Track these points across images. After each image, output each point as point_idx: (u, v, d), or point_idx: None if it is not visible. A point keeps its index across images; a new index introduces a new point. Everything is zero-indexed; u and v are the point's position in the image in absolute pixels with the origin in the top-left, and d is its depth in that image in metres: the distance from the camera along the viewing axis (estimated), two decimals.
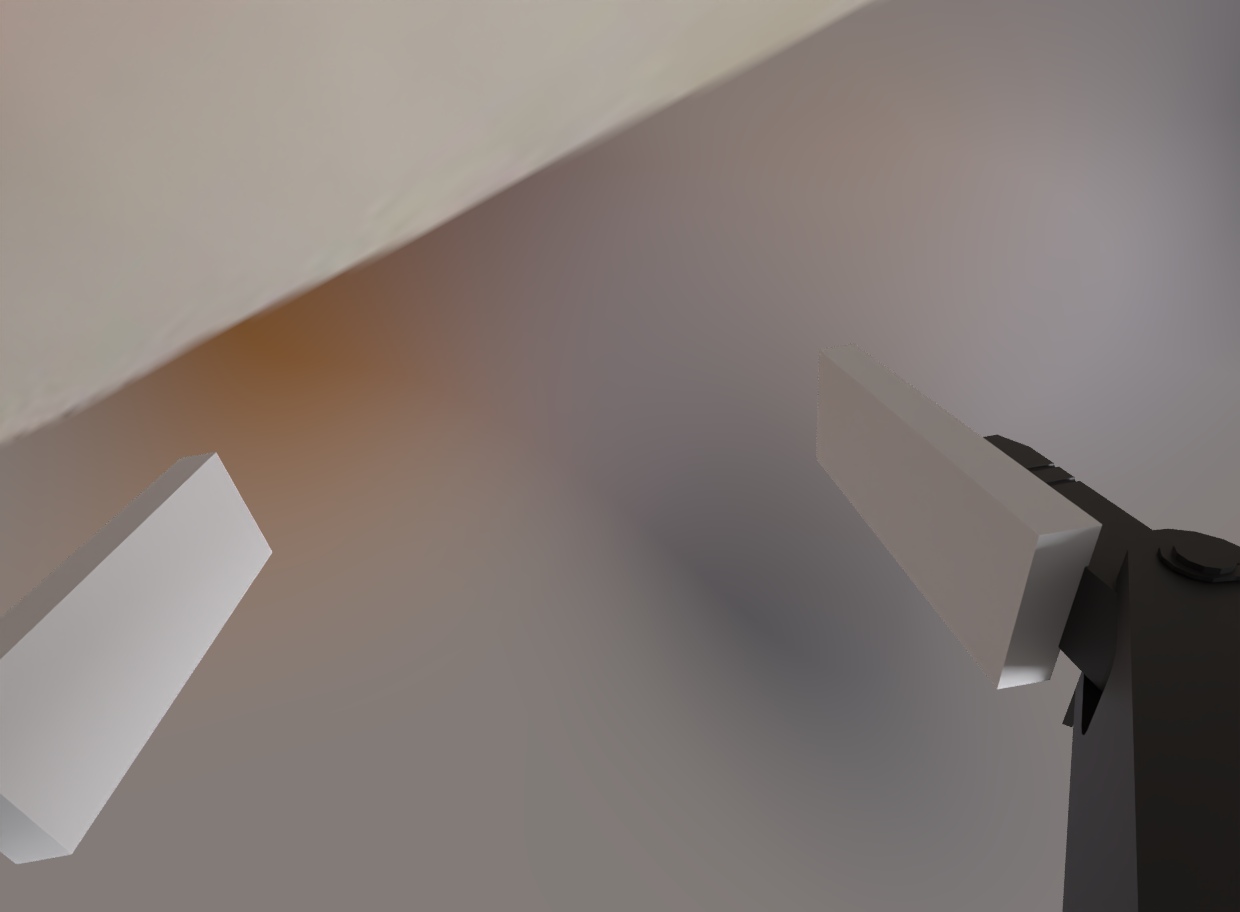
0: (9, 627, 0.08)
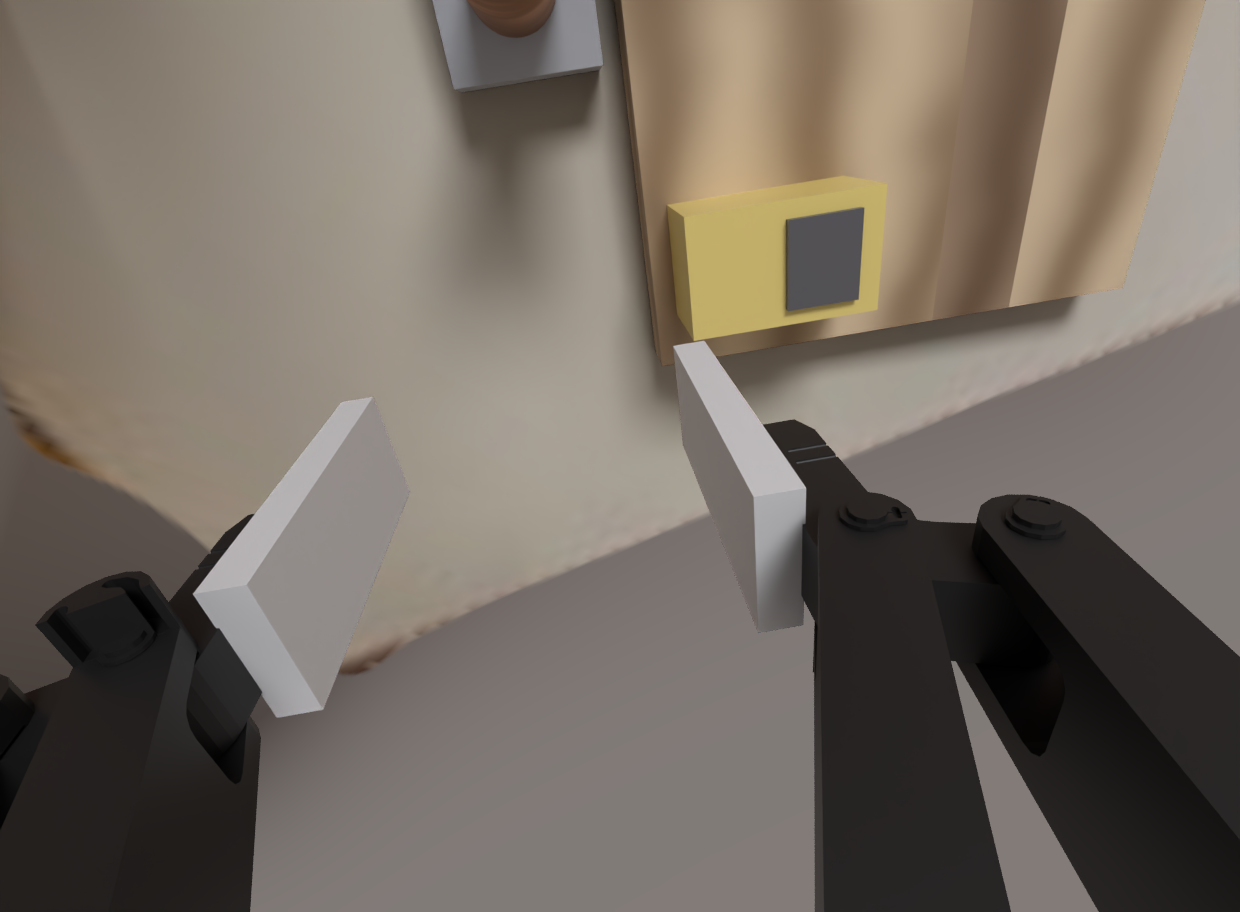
0: (268, 519, 0.10)
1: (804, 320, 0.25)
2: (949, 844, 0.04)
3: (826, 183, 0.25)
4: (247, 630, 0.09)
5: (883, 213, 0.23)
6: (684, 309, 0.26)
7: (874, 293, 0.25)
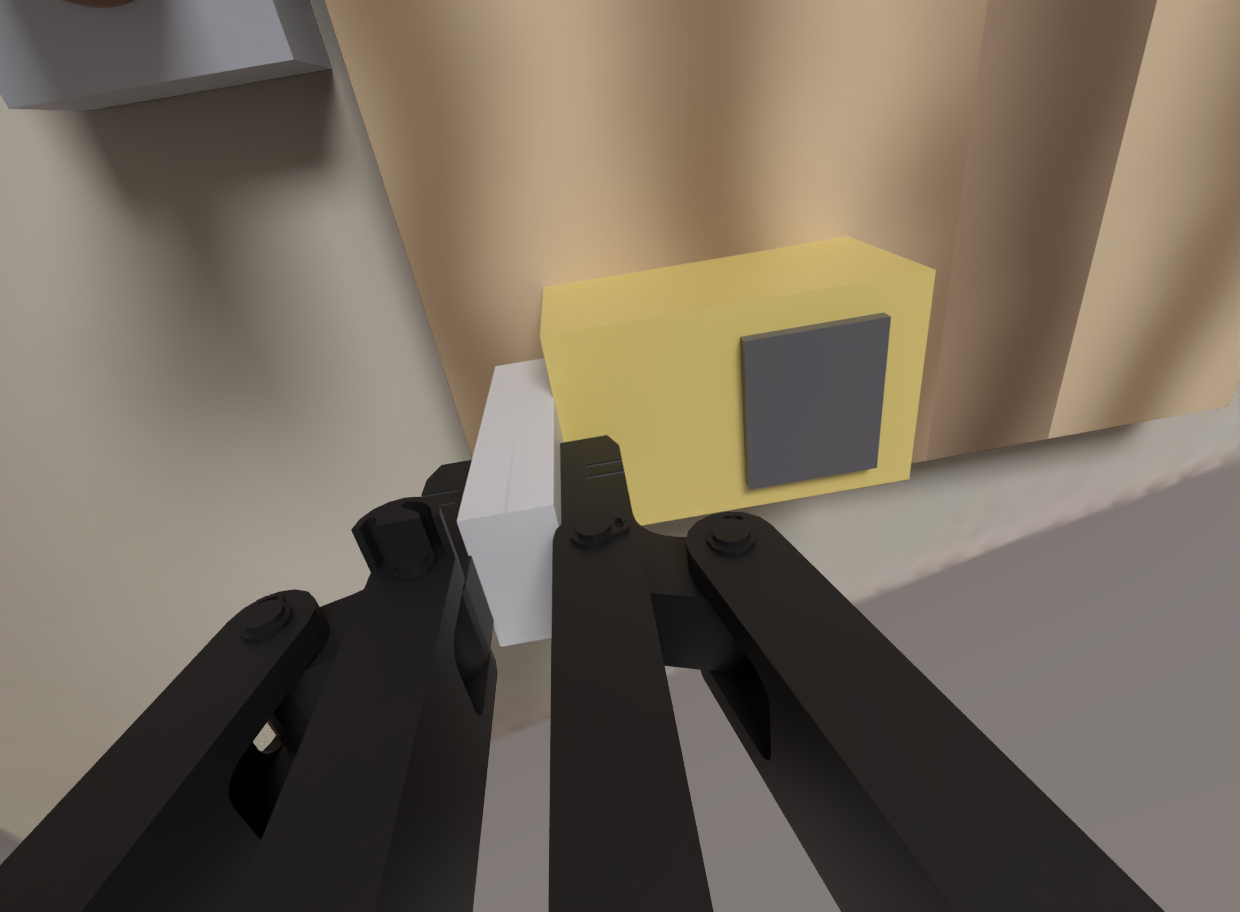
0: (490, 462, 0.10)
1: (779, 498, 0.14)
2: (658, 824, 0.05)
3: (818, 256, 0.14)
4: (495, 558, 0.09)
5: (926, 323, 0.12)
6: None
7: (904, 454, 0.14)
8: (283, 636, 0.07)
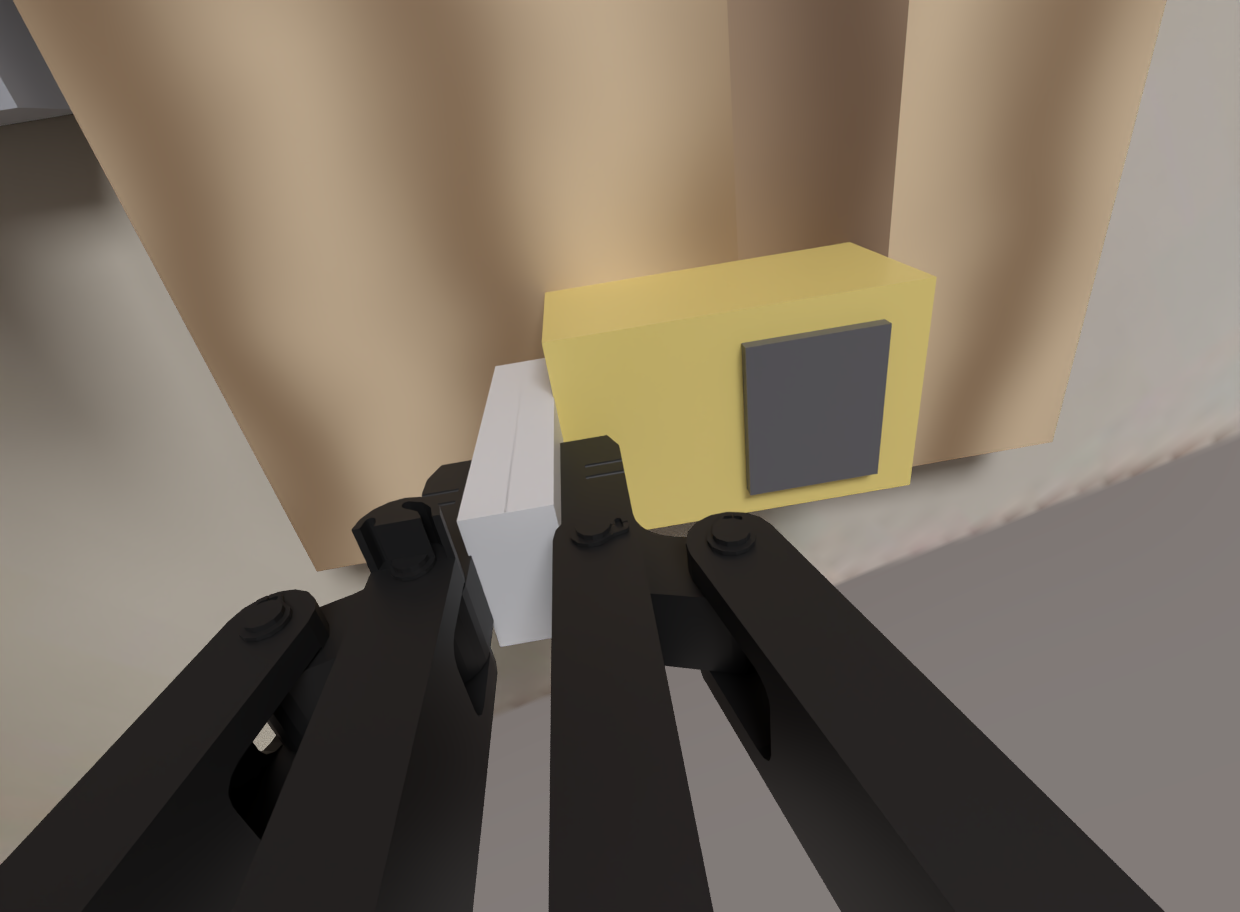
0: (490, 462, 0.10)
1: (780, 504, 0.14)
2: (658, 824, 0.05)
3: (820, 262, 0.14)
4: (495, 558, 0.09)
5: (926, 329, 0.12)
6: None
7: (905, 459, 0.14)
8: (283, 636, 0.07)
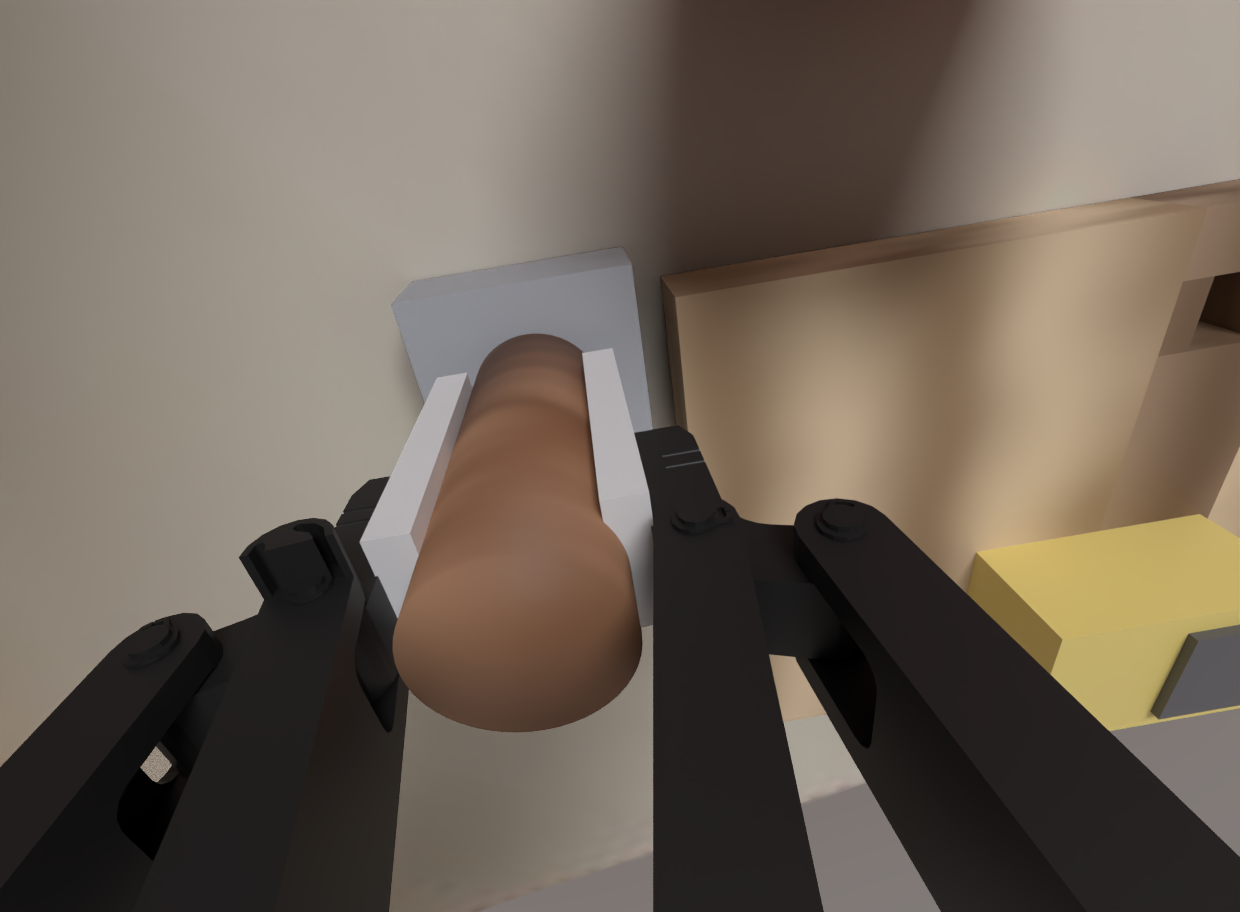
0: (407, 479, 0.10)
1: (1168, 719, 0.19)
2: (764, 818, 0.05)
3: (1202, 547, 0.19)
4: (403, 578, 0.09)
5: None
6: None
7: None
8: (171, 658, 0.07)
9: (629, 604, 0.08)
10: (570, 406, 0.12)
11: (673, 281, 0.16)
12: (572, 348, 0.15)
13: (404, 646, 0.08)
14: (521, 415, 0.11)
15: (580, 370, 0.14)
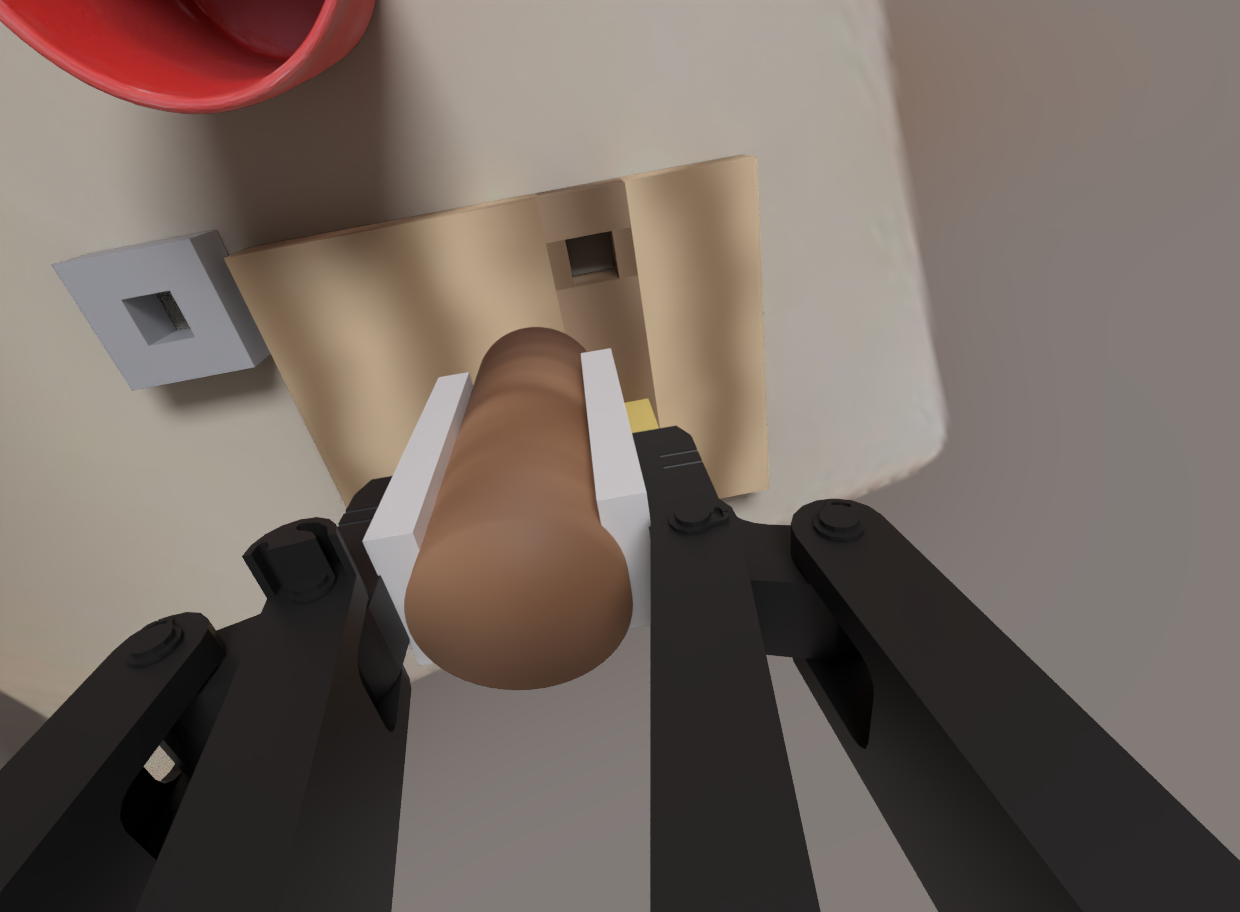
0: (409, 478, 0.10)
1: None
2: (762, 819, 0.05)
3: None
4: (406, 578, 0.09)
5: None
6: None
7: None
8: (174, 658, 0.07)
9: (620, 567, 0.09)
10: (568, 393, 0.12)
11: (245, 250, 0.27)
12: (570, 340, 0.16)
13: (415, 606, 0.09)
14: (522, 400, 0.12)
15: (577, 361, 0.15)
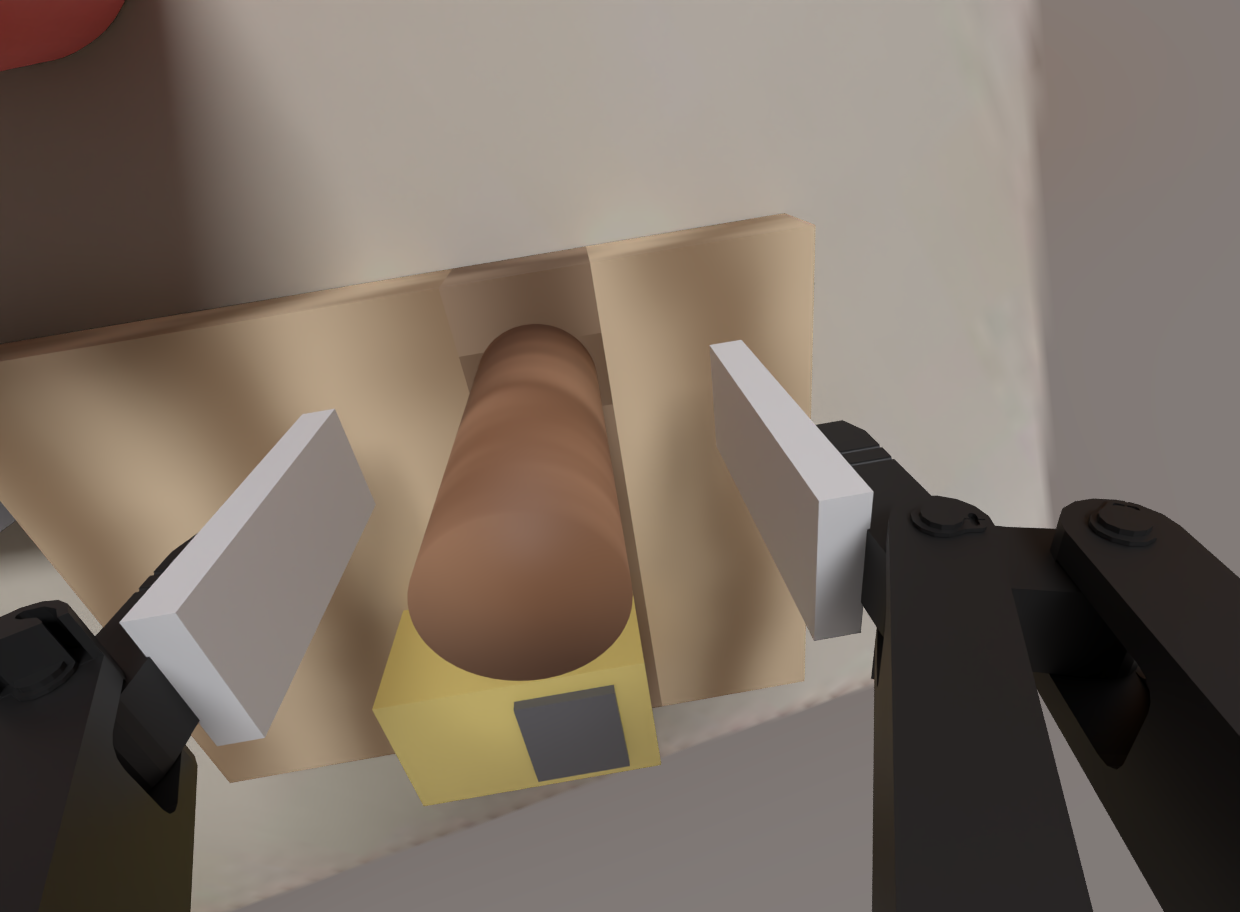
0: (208, 541, 0.09)
1: (566, 779, 0.20)
2: (1034, 867, 0.04)
3: None
4: (179, 659, 0.08)
5: (646, 688, 0.18)
6: None
7: (653, 752, 0.19)
8: None
9: (619, 558, 0.09)
10: (566, 388, 0.13)
11: None
12: (568, 337, 0.16)
13: (418, 599, 0.09)
14: (521, 396, 0.12)
15: (576, 357, 0.15)
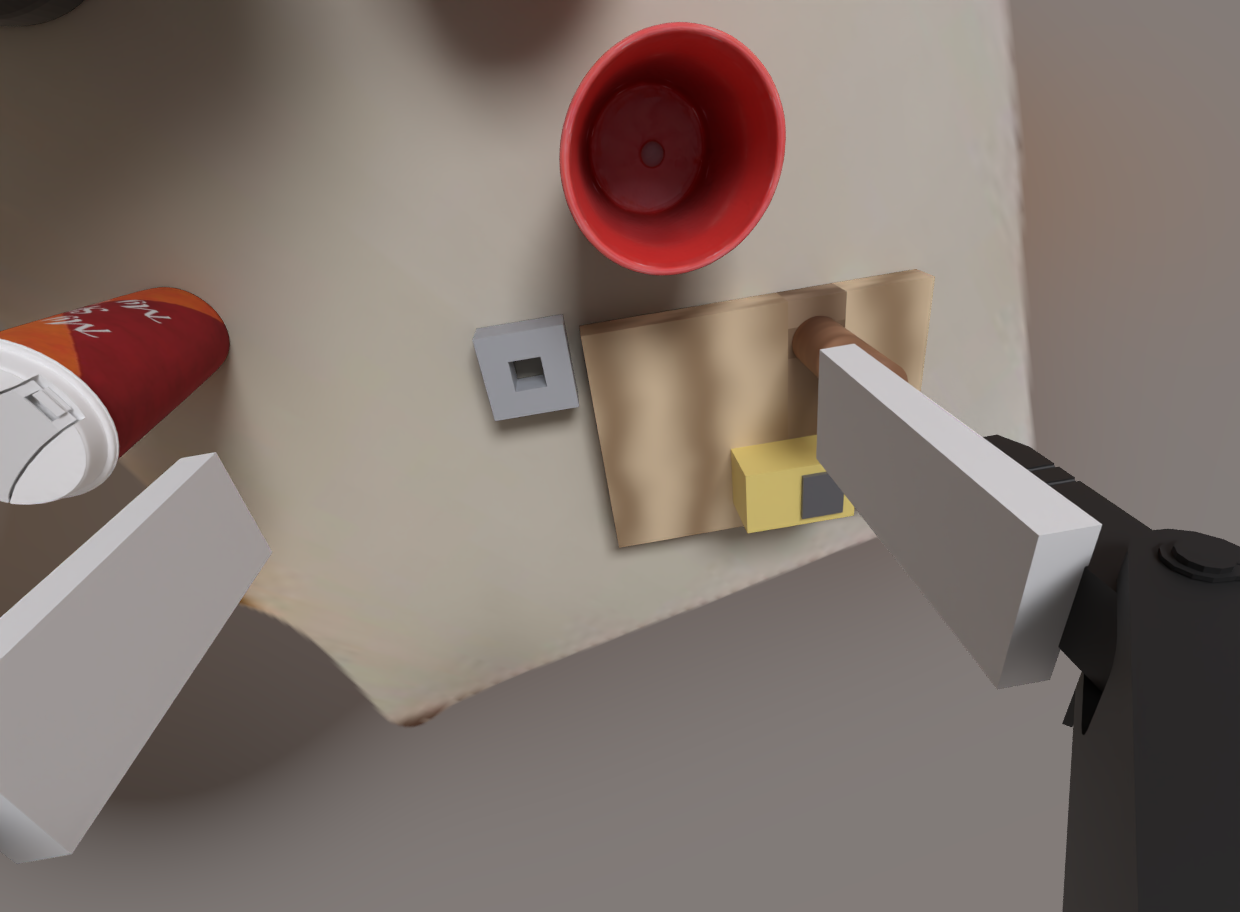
0: (9, 627, 0.08)
1: (811, 521, 0.43)
2: None
3: None
4: None
5: None
6: (740, 510, 0.44)
7: (851, 507, 0.43)
8: None
9: (906, 376, 0.33)
10: (858, 337, 0.36)
11: (583, 328, 0.40)
12: None
13: None
14: (850, 338, 0.35)
15: None
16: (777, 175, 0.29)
